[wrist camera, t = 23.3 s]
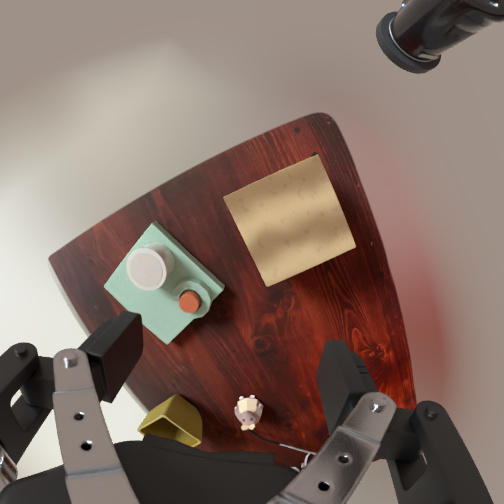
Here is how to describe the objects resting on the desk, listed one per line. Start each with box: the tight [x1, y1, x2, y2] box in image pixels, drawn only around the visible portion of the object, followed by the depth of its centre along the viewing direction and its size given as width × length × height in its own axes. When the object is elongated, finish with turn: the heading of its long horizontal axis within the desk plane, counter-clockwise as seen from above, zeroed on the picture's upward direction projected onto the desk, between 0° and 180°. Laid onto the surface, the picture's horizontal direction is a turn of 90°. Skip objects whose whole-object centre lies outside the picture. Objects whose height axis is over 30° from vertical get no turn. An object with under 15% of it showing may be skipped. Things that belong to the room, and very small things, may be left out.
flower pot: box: [137, 394, 202, 447], centre depth 45 cm, size 9×9×9 cm
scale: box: [104, 221, 225, 345], centre depth 42 cm, size 14×14×4 cm
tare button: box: [179, 291, 201, 313], centre depth 40 cm, size 3×3×2 cm
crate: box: [223, 155, 356, 287], centre depth 35 cm, size 11×11×10 cm
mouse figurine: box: [235, 395, 263, 430], centre depth 46 cm, size 5×8×7 cm, turn 13°
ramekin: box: [126, 242, 175, 291], centre depth 39 cm, size 6×6×4 cm
